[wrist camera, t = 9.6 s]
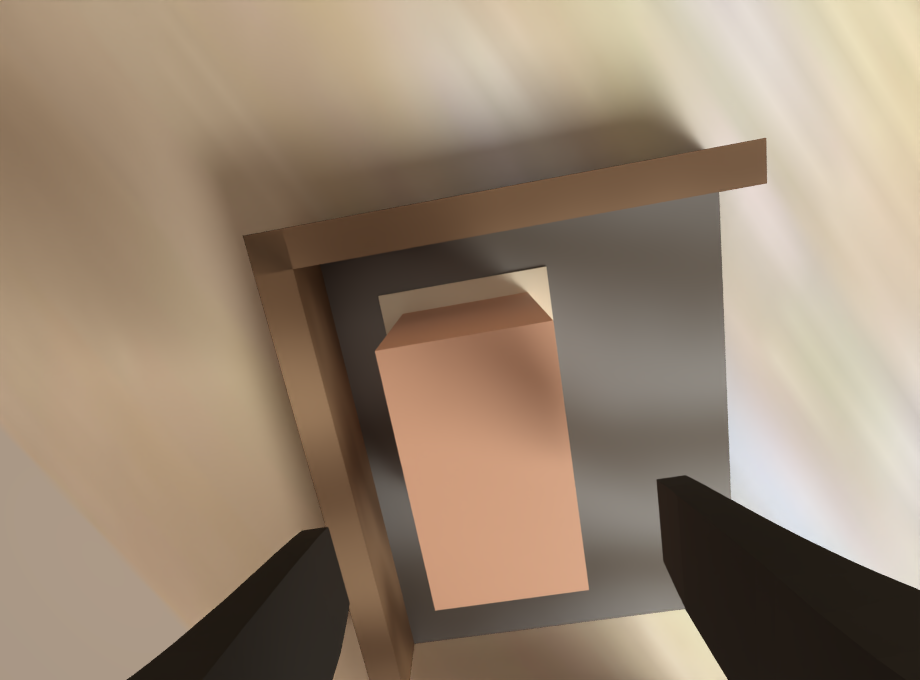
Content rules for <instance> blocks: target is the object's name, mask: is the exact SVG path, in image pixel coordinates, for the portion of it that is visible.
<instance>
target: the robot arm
mask: <svg viewBox="0 0 920 680" xmlns="http://www.w3.org/2000/svg"><path fill="white" fill-rule="evenodd" d="M656 481H657V493H658V505H659V517H660V529H661V541H662V553H663V562H664V564H665V566H666V568H667V571H668V573H669V575H670V577H671V579H672V582H673V584H674V586H675V588H676V590H677V592H678V595H679V597H680V599H681V601H682V603H683V605H684V607H685V609H686V611H687V613H688V614H689V616H690V618H691V619H692V621H693V623H694V624H695V626H696V628H697V629H698V631H699V633H700V634H701V636H702V638H703V639H704V641H705V643H706V644H707V646H708V648H709V649H710V651H711V653H712V654H713V656H714V658H715V659H716V661H717V662H718V664H719V666H720V667H721V669H722V671H723V672H724V674H725V676H726V677H727V679H728V680H920V590H918V589H916V588H914V587H911V586H909V585H906V584H904V583H902V582H899V581H897V580H894V579H892V578H889V577H887V576H885V575H882V574H880V573H877V572H875V571H873V570H870V569H868V568H866V567H864V566H861V565H859V564H857V563H855V562H852V561H850V560H848V559H846V558H844V557H842V556H840V555H838V554H836V553H833V552H831V551H829V550H827V549H825V548H823V547H821V546H819V545H817V544H815V543H813V542H810V541H808V540H806V539H804V538H802V537H800V536H798V535H796V534H795V533H793V532H791V531H789V530H787V529H785V528H783V527H781V526H779V525H777V524H775V523H773V522H771V521H770V520H768V519H766V518H764V517H762V516H760V515H758V514H756V513H755V512H753V511H751V510H749V509H747V508H745V507H744V506H742V505H740V504H738V503H736V502H735V501H733V500H731V499H729V498H727V497H726V496H724V495H722V494H720V493H718V492H717V491H715V490H713V489H711V488H709V487H708V486H706V485H704V484H702V483H700V482H698V481H696V480H695V479H693V478H691V477H689V476H686V475H683V476H676V477H669V478H662V479H656ZM349 605H350V602H349V598H348V595H347V591H346V588H345V584H344V580H343V577H342V573H341V570H340V566H339V563H338V559H337V556H336V552H335V548H334V545H333V541H332V538H331V534H330V531H329V527H324V528H317V529H310V530H304V531H301V532H300V533H299V534H297V535H296V536H295V537H294V538H292V539H291V540H290V541H289V542H288V543H287V544H285V545H284V546H283V547H282V548H281V549H280V550H279V551H278V552H276V553H275V554H274V555H273V556H272V557H271V558H270V559H269V560H268V561H267V562H266V563H264V564H263V565H262V566H261V567H260V568H259V569H258V570H257V571H256V572H255V573H254V574H252V575H251V576H250V577H249V578H248V579H247V580H246V581H245V582H244V583H243V584H241V585H240V586H239V587H238V588H237V589H236V590H235V591H234V592H233V593H232V594H230V595H229V596H228V597H227V598H226V599H225V600H224V601H223V602H222V603H220V604H219V605H218V606H217V607H216V608H215V609H213V610H212V611H211V612H210V613H209V614H207V615H206V616H205V617H204V618H203V619H202V620H200V621H199V622H198V623H197V624H196V625H195V626H193V627H192V628H191V629H190V630H189V631H188V632H186V633H185V634H184V635H183V636H182V637H181V638H179V639H178V640H177V641H176V642H175V643H173V644H172V645H171V646H170V647H168V648H167V649H166V650H165V651H164V652H162V653H161V654H160V655H159V656H157V657H156V658H155V659H153V660H152V661H151V662H150V663H149V664H147V665H146V666H144V667H143V668H142V669H141V670H139V671H138V672H137V673H135V674H134V675H133V676H131V677H130V678H128V679H127V680H332V679H333V676H334V673H335V670H336V666H337V663H338V660H339V656H340V653H341V648H342V643H343V638H344V633H345V628H346V622H347V617H348V611H349Z"/></svg>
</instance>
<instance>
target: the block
mask: <svg viewBox="0 0 920 680" xmlns="http://www.w3.org/2000/svg"><path fill="white" fill-rule="evenodd" d="M375 354H376V358H377V363H378V367H379V371H380V375H381V380H382V384H383V388H384V393H385V397H386V401H387V406H388V410H389V414H390V418H391V423H392V427H393V431H394V436H395V440H396V444H397V449H398V453H399V457H400V461H401V466H402V470H403V474H404V479H405V483H406V487H407V491H408V496H409V500H410V504H411V509H412V513H413V517H414V522H415V526H416V530H417V534H418V539H419V543H420V547H421V552H422V556H423V560H424V564H425V569H426V573H427V577H428V582H429V586H430V590H431V595H432V599H433V603H434V607H435V611H436V610H443V609H451V608H458V607H466V606H473V605H481V604H488V603H496V602H503V601H510V600H518V599H525V598H533V597H540V596H548V595H555V594H563V593H570V592H577V591H585V590H589V585H588V578H587V570H586V563H585V555H584V548H583V540H582V533H581V525H580V518H579V510H578V502H577V495H576V487H575V480H574V472H573V465H572V457H571V450H570V442H569V435H568V427H567V420H566V412H565V405H564V397H563V389H562V382H561V374H560V367H559V359H558V352H557V344H556V337H555V329H554V322H553V320H552V319H551V317H550V316H549V315H548V314H547V313H546V312H545V311H544V310H543V309H542V308H541V306H540V305H539V304H538V303H537V302H536V301H535V300H534V299H533V298H532V297H531V295H530V294H529V293H528V292H525V293H519V294H514V295H508V296H502V297H496V298H491V299H485V300H479V301H474V302H468V303H462V304H456V305H451V306H445V307H439V308H434V309H428V310H422V311H416V312H411V313H405V314H402V316H401V317H400V318H399V320H398V321H397V322H396V324H395V325H394V326H393V328H392V329H391V330H390V331H389V333H388V334H387V335H386V337H385V338H384V339H383V341H382V342H381V343H380V345H379V346H378V347H377V349H376V350H375Z"/></svg>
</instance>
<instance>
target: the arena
mask: <svg viewBox="0 0 920 680" xmlns="http://www.w3.org/2000/svg"><path fill="white" fill-rule="evenodd" d="M765 183H767V156H766V138H763V139H757V140H752V141H747V142H741V143H736V144H730V145H725V146H720V147H714V148H709V149H704V150H698V151H693V152H688V153H682V154H677V155H672V156H666V157H661V158H656V159H650V160H645V161H640V162H634V163H629V164H624V165H618V166H613V167H608V168H602V169H597V170H592V171H586V172H581V173H576V174H570V175H565V176H560V177H554V178H549V179H544V180H538V181H533V182H528V183H522V184H517V185H512V186H506V187H501V188H496V189H490V190H485V191H480V192H474V193H469V194H464V195H458V196H453V197H448V198H442V199H437V200H432V201H426V202H421V203H416V204H410V205H405V206H400V207H394V208H389V209H384V210H378V211H373V212H368V213H362V214H357V215H352V216H346V217H341V218H336V219H330V220H325V221H319V222H314V223H309V224H303V225H298V226H293V227H287V228H282V229H277V230H271V231H266V232H261V233H255V234H250V235H245V236H243V238H244V242H245V245H246V249H247V252H248V256H249V259H250V263H251V266H252V270H253V273H254V277H255V280H256V284H257V287H258V291H259V294H260V298H261V301H262V305H263V308H264V312H265V315H266V319H267V322H268V326H269V329H270V333H271V336H272V340H273V343H274V347H275V350H276V354H277V357H278V361H279V364H280V368H281V372H282V375H283V379H284V382H285V386H286V389H287V393H288V396H289V400H290V403H291V407H292V410H293V414H294V417H295V421H296V424H297V428H298V431H299V435H300V438H301V442H302V445H303V449H304V452H305V456H306V459H307V463H308V466H309V470H310V473H311V477H312V480H313V484H314V487H315V491H316V494H317V498H318V501H319V505H320V508H321V512H322V515H323V519H324V522H325V526H326V527H329V531H330V534H331V538H332V541H333V545H334V548H335V552H336V556H337V559H338V563H339V566H340V570H341V573H342V577H343V580H344V584H345V588H346V591H347V595H348V598H349V602H350V605H349V610H350V614H351V617H352V621H353V624H354V628H355V631H356V635H357V638H358V642H359V645H360V649H361V652H362V656H363V659H364V663H365V666H366V670H367V673H368V677H369V680H410V674H411V666H412V659H413V651H414V644H416V643H424V642H432V641H440V640H447V639H455V638H463V637H471V636H478V635H486V634H494V633H502V632H510V631H517V630H525V629H533V628H541V627H548V626H556V625H564V624H572V623H580V622H587V621H595V620H603V619H611V618H618V617H626V616H634V615H642V614H650V613H657V612H665V611H673V610H681V609H685V607H684V605H683V603H682V601H681V599H680V597H679V595H678V592H677V590H676V588H675V586H674V584H673V582H672V579H671V577H670V575H669V573H668V571H667V568H666V566H665V564H664V562H663V553H662V541H661V529H660V517H659V505H658V493H657V481H656V479H662V478H669V477H676V476H683V475H686V476H689V477H691V478H693V479H695V480H696V481H698V482H700V483H702V484H704V485H706V486H708V487H709V488H711V489H713V490H715V491H717V492H718V493H720V494H722V495H724V496H726V497H727V498H729V499H731V489H730V463H729V437H728V411H727V385H726V359H725V334H724V308H723V282H722V256H721V230H720V204H719V192H721V191H727V190H732V189H738V188H743V187H749V186H754V185H760V184H765ZM525 292H528V293H529V294H530V295H531V297H532V298H533V299H534V300H535V301H536V302H537V303H538V304H539V305H540V306H541V308H542V309H543V310H544V311H545V312H546V313H547V314H548V315H549V316H550V317H551V319H552V320H553V322H554V329H555V337H556V344H557V352H558V359H559V367H560V374H561V382H562V389H563V397H564V405H565V412H566V420H567V427H568V435H569V442H570V450H571V457H572V465H573V472H574V480H575V487H576V495H577V502H578V510H579V518H580V525H581V533H582V540H583V548H584V555H585V563H586V570H587V578H588V585H589V590H585V591H577V592H570V593H563V594H555V595H548V596H540V597H533V598H525V599H518V600H510V601H503V602H496V603H488V604H481V605H473V606H466V607H458V608H451V609H443V610H436V611H435V607H434V603H433V599H432V595H431V590H430V586H429V582H428V577H427V573H426V569H425V564H424V560H423V556H422V552H421V547H420V543H419V539H418V534H417V530H416V526H415V522H414V517H413V513H412V509H411V504H410V500H409V496H408V491H407V487H406V483H405V479H404V474H403V470H402V466H401V461H400V457H399V453H398V449H397V444H396V440H395V436H394V431H393V427H392V423H391V418H390V414H389V410H388V406H387V401H386V397H385V393H384V388H383V384H382V380H381V375H380V371H379V367H378V363H377V358H376V354H375V350H376V349H377V347H378V346H379V345H380V343H381V342H382V341H383V339H384V338H385V337H386V335H387V334H388V333H389V331H390V330H391V329H392V328H393V326H394V325H395V324H396V322H397V321H398V320H399V318H400V317H401V316H402V314H405V313H411V312H416V311H422V310H428V309H434V308H439V307H445V306H451V305H456V304H462V303H468V302H474V301H479V300H485V299H491V298H496V297H502V296H508V295H514V294H519V293H525Z"/></svg>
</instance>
